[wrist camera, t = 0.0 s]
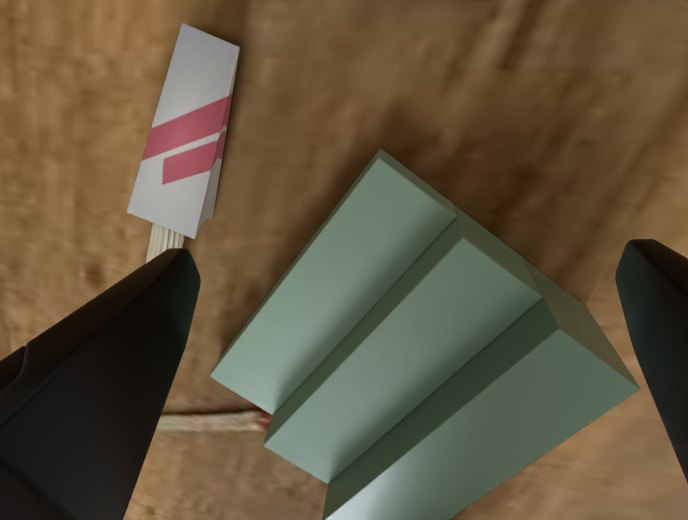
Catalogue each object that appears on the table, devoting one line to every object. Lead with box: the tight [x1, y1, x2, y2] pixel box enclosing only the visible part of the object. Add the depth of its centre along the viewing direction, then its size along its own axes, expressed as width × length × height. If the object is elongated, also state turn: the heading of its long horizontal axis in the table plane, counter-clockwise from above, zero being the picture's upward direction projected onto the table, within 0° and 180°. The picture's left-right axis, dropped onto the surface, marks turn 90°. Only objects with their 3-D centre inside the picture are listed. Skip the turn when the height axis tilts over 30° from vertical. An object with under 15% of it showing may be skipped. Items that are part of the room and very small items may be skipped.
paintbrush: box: [127, 23, 240, 263], centre depth 26 cm, size 4×3×20 cm
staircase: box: [209, 149, 640, 520], centre depth 26 cm, size 18×15×7 cm
